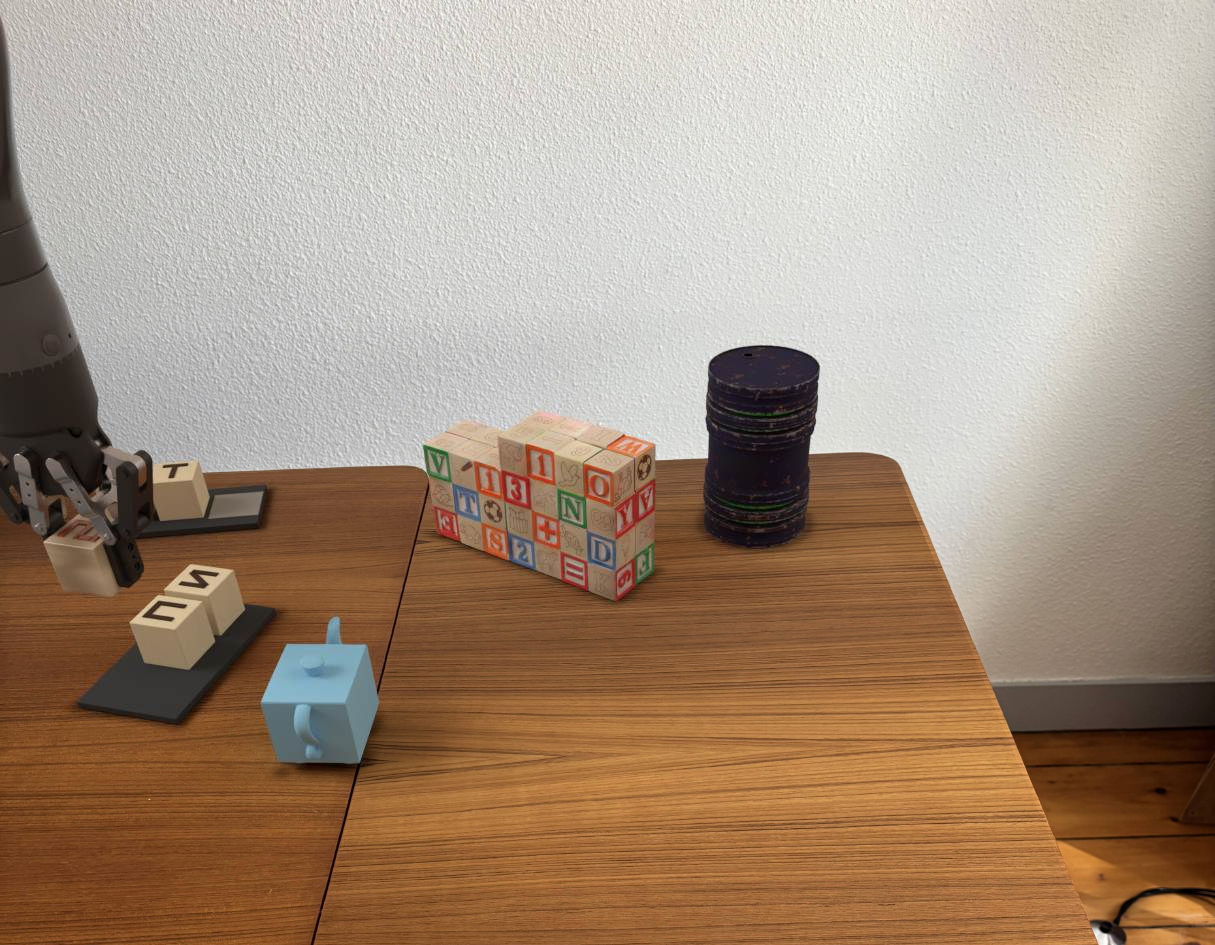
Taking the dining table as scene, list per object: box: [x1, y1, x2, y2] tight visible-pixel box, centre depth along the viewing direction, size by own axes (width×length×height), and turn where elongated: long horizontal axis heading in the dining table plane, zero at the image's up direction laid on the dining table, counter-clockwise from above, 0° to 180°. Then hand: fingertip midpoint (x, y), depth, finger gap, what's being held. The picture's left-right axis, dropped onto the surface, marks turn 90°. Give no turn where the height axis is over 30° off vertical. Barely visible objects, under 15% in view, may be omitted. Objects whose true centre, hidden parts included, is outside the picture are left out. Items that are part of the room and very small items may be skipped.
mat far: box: [94, 460, 268, 539], centre depth 111 cm, size 15×8×5 cm, turn 96°
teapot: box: [259, 616, 380, 765], centre depth 84 cm, size 12×6×8 cm, turn 177°
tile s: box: [43, 513, 124, 598], centre depth 83 cm, size 4×4×4 cm
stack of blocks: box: [422, 409, 657, 602], centre depth 101 cm, size 21×6×12 cm, turn 54°
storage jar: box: [702, 344, 821, 549], centre depth 103 cm, size 10×10×15 cm
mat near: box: [76, 563, 277, 725], centre depth 93 cm, size 9×16×5 cm, turn 164°
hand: (102, 576), depth 84 cm, fingers closed on tile s, 4 cm apart
